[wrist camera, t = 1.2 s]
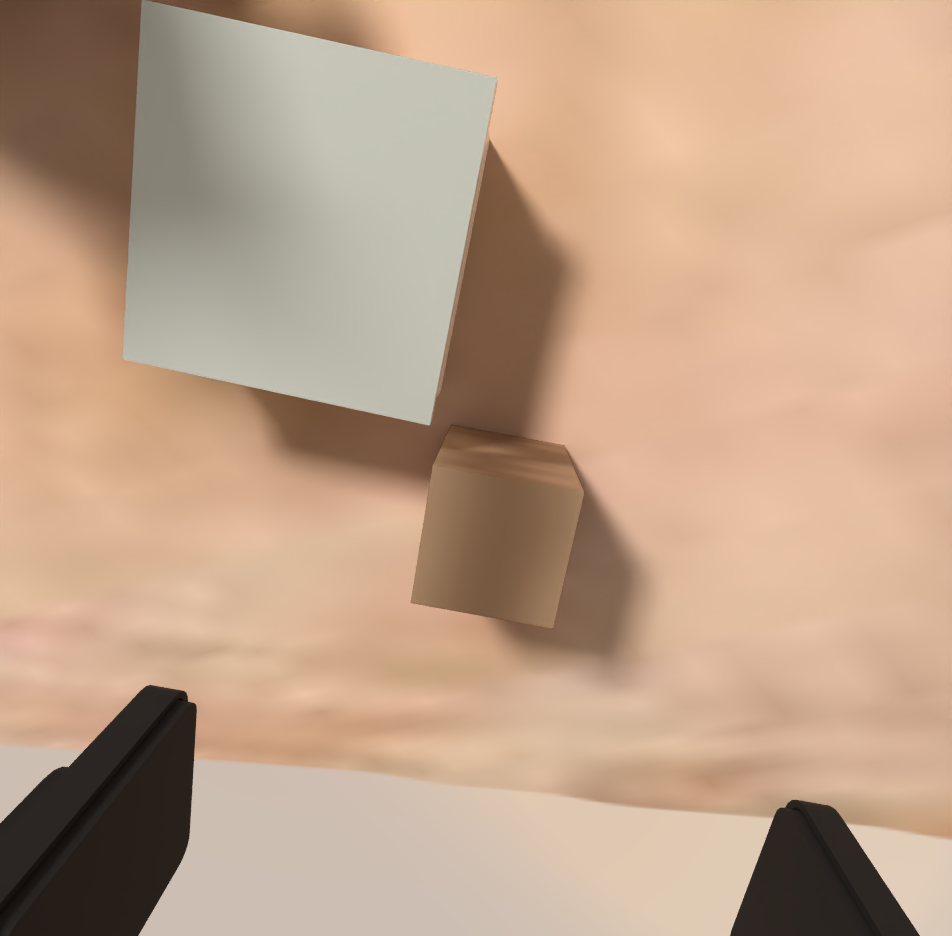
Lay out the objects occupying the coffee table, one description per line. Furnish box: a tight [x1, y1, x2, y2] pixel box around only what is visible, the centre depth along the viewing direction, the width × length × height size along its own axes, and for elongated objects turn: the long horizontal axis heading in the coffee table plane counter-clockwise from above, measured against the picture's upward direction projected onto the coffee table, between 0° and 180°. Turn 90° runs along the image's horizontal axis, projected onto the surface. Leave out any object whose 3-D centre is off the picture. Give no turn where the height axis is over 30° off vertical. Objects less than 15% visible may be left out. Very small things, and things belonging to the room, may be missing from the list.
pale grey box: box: [122, 0, 497, 426], centre depth 22 cm, size 11×11×6 cm
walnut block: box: [411, 425, 584, 629], centre depth 24 cm, size 5×5×7 cm
